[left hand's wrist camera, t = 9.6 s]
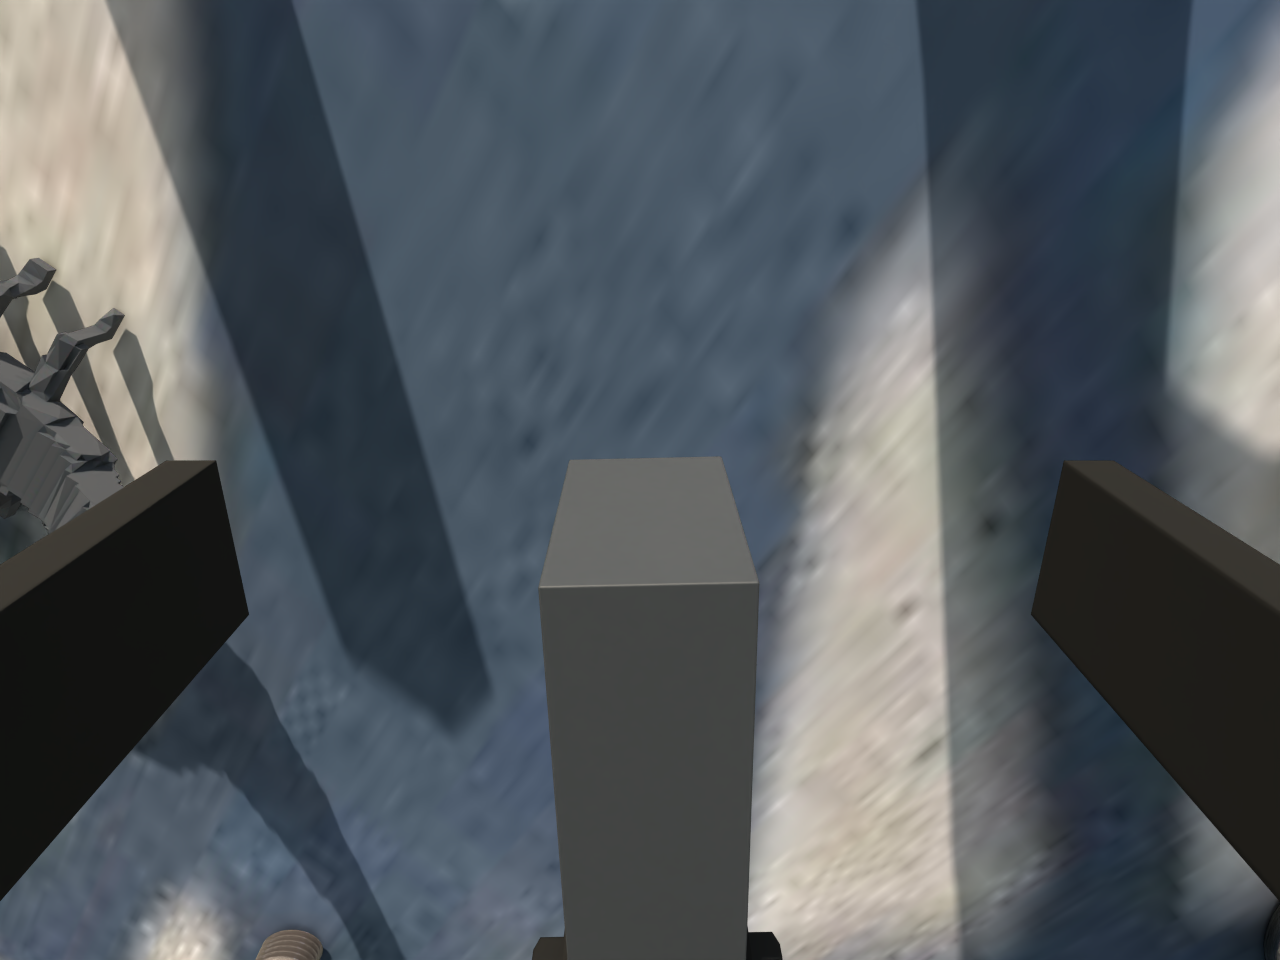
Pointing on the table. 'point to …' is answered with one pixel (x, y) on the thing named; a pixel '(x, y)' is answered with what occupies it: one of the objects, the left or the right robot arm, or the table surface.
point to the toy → (50, 422)
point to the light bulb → (291, 946)
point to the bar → (651, 708)
